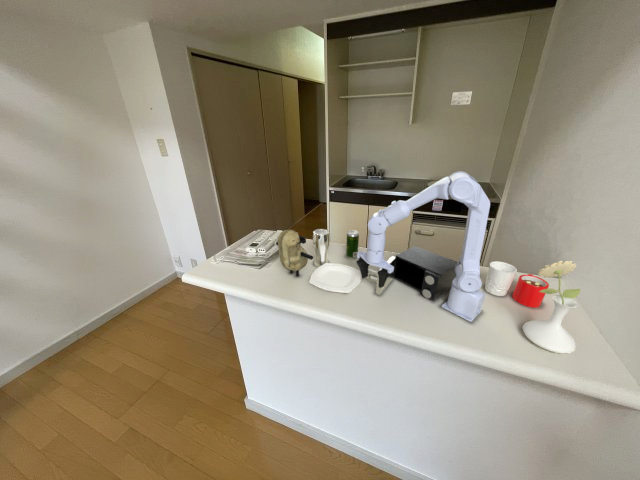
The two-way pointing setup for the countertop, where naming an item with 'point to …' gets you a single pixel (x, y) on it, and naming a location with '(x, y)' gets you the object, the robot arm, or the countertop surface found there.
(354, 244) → the beer can
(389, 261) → the microwave door
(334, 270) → the plate
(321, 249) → the silver metal tumbler
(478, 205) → the robot arm
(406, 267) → the microwave
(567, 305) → the flower in vase
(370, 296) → the countertop surface
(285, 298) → the countertop surface
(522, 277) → the mug
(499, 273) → the white cup
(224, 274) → the countertop surface
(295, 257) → the figurine
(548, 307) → the countertop surface
